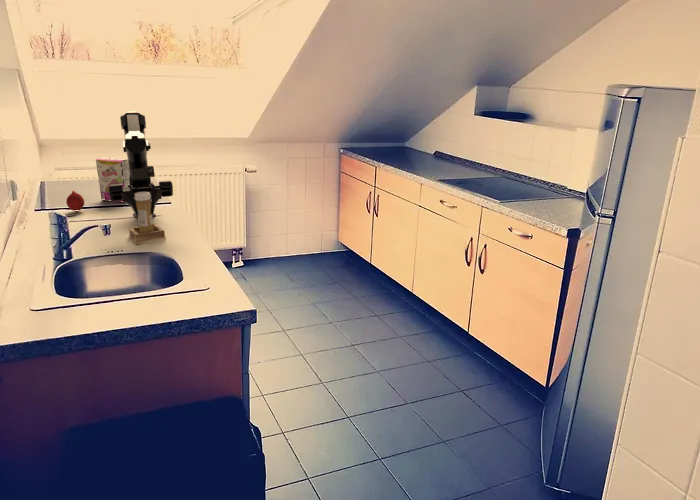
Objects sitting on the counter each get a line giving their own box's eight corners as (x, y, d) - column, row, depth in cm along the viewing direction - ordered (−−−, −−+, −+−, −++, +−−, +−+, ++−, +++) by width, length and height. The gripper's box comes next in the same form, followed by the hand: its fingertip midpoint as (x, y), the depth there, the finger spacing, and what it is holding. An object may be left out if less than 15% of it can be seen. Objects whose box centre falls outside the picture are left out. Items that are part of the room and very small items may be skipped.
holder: (129, 236, 181) (127, 227, 180) (157, 232, 186) (156, 223, 185) (136, 244, 174) (135, 235, 173) (166, 239, 179) (165, 230, 178)
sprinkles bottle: (157, 233, 180) (153, 192, 176) (145, 237, 177) (140, 195, 172) (148, 231, 183) (143, 190, 178) (136, 234, 179) (131, 193, 175)
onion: (89, 211, 207) (85, 190, 205) (74, 215, 203) (70, 193, 200) (79, 208, 210) (76, 187, 208) (64, 212, 206) (61, 191, 203)
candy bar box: (100, 201, 220) (94, 159, 214) (108, 198, 225) (103, 156, 219) (126, 203, 218) (121, 161, 212) (134, 200, 222) (128, 158, 217)
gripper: (104, 159, 172) (109, 204, 166) (169, 155, 178) (176, 198, 172) (108, 178, 181) (113, 221, 176) (169, 174, 188) (175, 216, 182)
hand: (144, 214), depth 176 cm, fingers closed on sprinkles bottle, 4 cm apart
